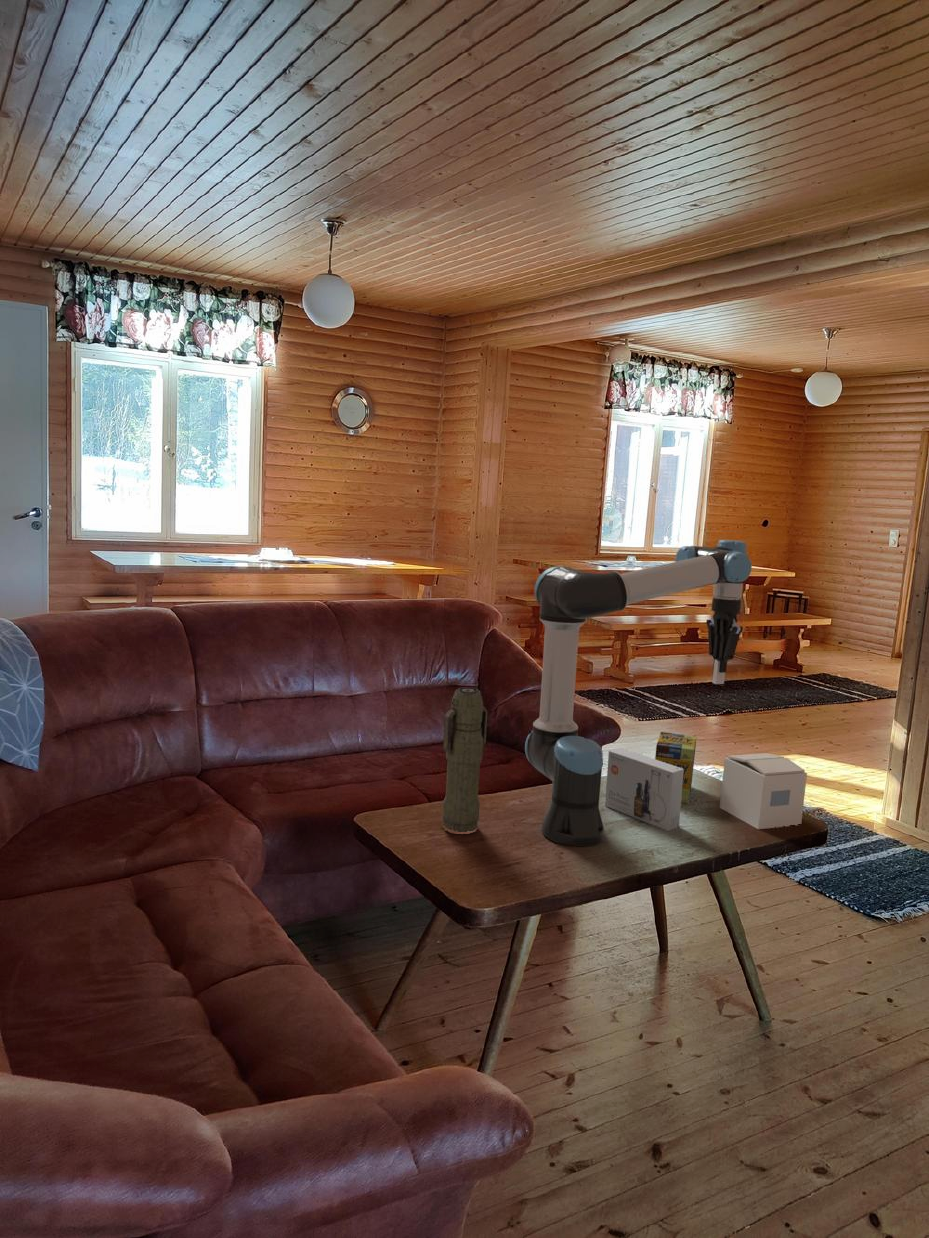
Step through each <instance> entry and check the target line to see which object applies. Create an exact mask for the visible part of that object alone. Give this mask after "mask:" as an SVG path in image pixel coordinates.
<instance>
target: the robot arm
mask: <svg viewBox="0 0 929 1238" xmlns="http://www.w3.org/2000/svg"><path fill="white" fill-rule="evenodd" d="M747 548H748V546H747V543H746V542H745V541H743V540H732V539H720V540H719V541H718V543H717V546H716V547H715V546H714V547H713V546H712V547H711V546H697V545H696V546H695V545H685V546H681V547H680V548H678V550H677V552H676V554H675V561H673V562H669V563H665V564H660V565H656V566H655V565H654V566H650V567H645V568H642V569H638V570H637V569H636V570H632V571H629V572H623V573H619V571H614V570H613V571H608V572H602V573H601V572H591V571H590V572H589V571H583V570H579V569H576V568H572V567H570V566H565V565H564V566H559V565H558V566H553V567H549V568H547V569H545V570H544V571H543V572H542V573H540V575H539V577H538V578H537V580H536V582H535V584H534V585H535V586H534V597H535V600H536V601H537V604H538V605H539V607H540V608H539V620H540V622H541V623H542V624H543V626H544V639H543V656H542V668H541V669H542V672H541V687H540V703H539V717H538V718H537V719H535V720H534V721H533V723H532V730H531V732H530V733H528V735H527V737H526V740H525V742H524V743H525V744H524V752H525V756H526V758H527V760H528V762H529V763H530V764H531V765H532V767H533V768H534V769H535V770H536V771H537V772H538V773H541V774H542V775H543V776H545V777H546V778H547V779H549V780H550V781H551V782H552V786H551V798H550V799H551V800H550V804H549V806H548V809H547V811H546V813H545V816H544V818H543V821H542V824H541V833H543V834H542V835H543V836H544V835H545V836H546V837H547V839H548V838H549V839H548V840H550V839H551V840H550V841H552V840H553V841H552V842H554V841H556V842H555V843H557V842H558V843H557V844H561V845H565V844H566V846H571V847H572V846H573V847H587V846H588V847H589V846H593V845H596V844H599V843H601V842H602V841H603V839H604V835H605V828H604V825H603V820H602V819H603V818H602V816H601V812H600V807H599V805H600V792H601V785H602V784H601V783H602V772H603V766H604V757H603V756H604V755H603V754H604V753H603V750H602V748H601V746H600V745H599V744H598V743H597V742H596V741H594V740H592V739H590V738H585V737H584V736H578V735H579V726H578V724H577V723H576V722H575V721H574V705H575V691H576V678H577V677H576V675H577V665H578V663H577V662H578V651H579V650H578V649H579V636H580V628H581V627H582V626H584V625H585V624H586V619H591V618H596V617H600V616H604V615H607V614H611V613H612V614H613V613H615V612H621V611H624V610H625V609H627V607H628V605H631V604H637V603H640V602H645V601H648V600H653V599H658V598H662V597H665V596H669V595H673V594H678V593H682V592H686V591H690V590H691V591H692V590H695V589H699V588H703V587H707V586H713V590H712V595H713V598H712V599H711V611H712V612H713V615H712V618H711V619H706V622H705V623H706V627H707V636H708V639H707V640H708V654H709V656H712V658H713V667H712V668H713V671H712V672H713V673H712V684H714V685H724V684H725V677H726V673H727V665H728V661H733V659H734V657H735V653H736V650H737V647H738V643H739V639H740V636H741V634H742V632H743V629H744V627H743V626H739V624H738V618H737V617H738V614H740V613H741V608H742V600H741V599H742V596H743V588H744V587H743V586H744V581H746V580H747V579H748V578H749V576H750V575H751V573H752V570H753V569H752V568H753V567H752V561H751V558H750V557H749V556H748V555H747V551H748V549H747ZM545 836H544V837H545ZM546 837H545V838H546Z"/></svg>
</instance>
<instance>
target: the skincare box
mask: <svg viewBox="0 0 929 1238" xmlns="http://www.w3.org/2000/svg"><path fill="white" fill-rule="evenodd" d="M606 771H607V773H606V786H605V797H604V798H605V802H604V806H605V807H607V808H609V809H612V810H615V811H617V812H620V813H622V814H624V815H625V814H626V815H628V816H630V817H632V818H634V819H636V820H640V821H643V822H644V823H647V824H650V825H652V826H655V827H657V828H660V829H662V830H664V831H672V830H674V829H677V828H680V817H681V806H682V802H681V799H682V783H683V773H684V769H682V768H679V767H676V766H673V765H670V764H667V763H664V762H661V761H658V760H655V758H653V757H649V756H646V755H643V754H640V753H637V752H633V751H630V750H628V749H625V748H622V747H616V748H613V749H610V750H608V758H607V770H606Z"/></svg>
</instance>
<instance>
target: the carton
mask: <svg viewBox="0 0 929 1238" xmlns="http://www.w3.org/2000/svg"><path fill="white" fill-rule="evenodd" d="M723 764H724V765H723V772H722V782H721V790H720V791H721V792H720V802H719V809H721V810H723V811H725V812H727V813H728V814H730V815H732V816H733V817H736V818H737V819H739V820H741V822H742V821H743V822H745V823H746V824H748V825H750V826H751V827H752V828H755V829H757V830H764V829H765V830H766V829H774V828H775V827H776V828H784V827H783V826H785V827H791V826H790V825H795V826H799V825H798V824H801V825H802V819H803V811H804V802H805V796H806V786H807V777H808V772H801V773H789V774H776V775H762V773H760V772H759V771H758V770H756V769H755V768H754V767H752V766H751V765H750V764H748V763H747V762H743V761H738V760H734V759H730V758H728V757H724V762H723Z"/></svg>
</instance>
